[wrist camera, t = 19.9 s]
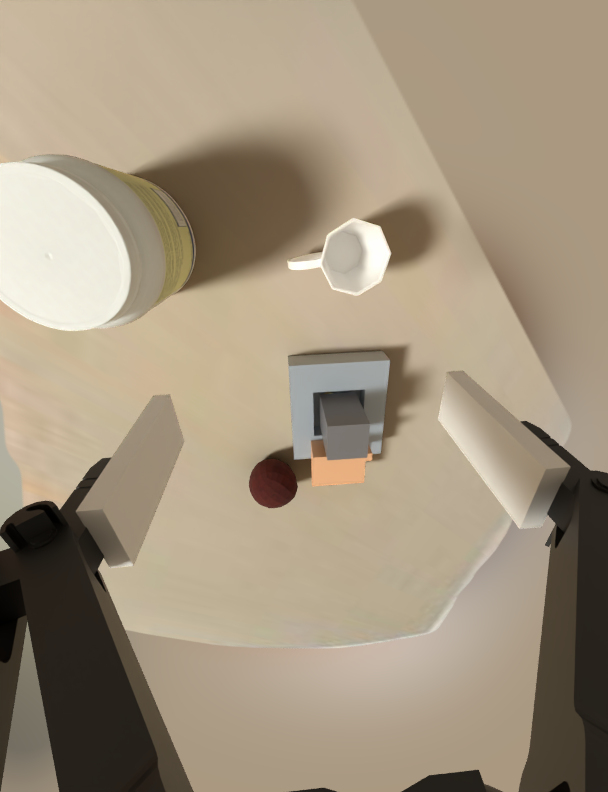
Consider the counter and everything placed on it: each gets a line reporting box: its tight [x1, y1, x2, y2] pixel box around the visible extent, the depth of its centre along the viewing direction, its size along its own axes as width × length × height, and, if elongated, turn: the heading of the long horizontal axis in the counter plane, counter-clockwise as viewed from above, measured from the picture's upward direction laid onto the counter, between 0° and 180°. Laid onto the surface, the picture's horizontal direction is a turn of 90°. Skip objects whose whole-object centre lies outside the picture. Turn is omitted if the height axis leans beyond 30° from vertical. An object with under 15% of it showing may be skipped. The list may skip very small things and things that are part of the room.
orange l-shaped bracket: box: [311, 440, 372, 486], centre depth 47 cm, size 8×8×4 cm
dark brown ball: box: [249, 459, 298, 508], centre depth 50 cm, size 7×8×7 cm
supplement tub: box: [0, 154, 196, 331], centre depth 29 cm, size 12×12×17 cm
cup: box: [287, 218, 391, 296], centre depth 35 cm, size 7×10×8 cm
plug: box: [320, 392, 370, 460], centre depth 43 cm, size 5×5×9 cm
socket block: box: [288, 351, 390, 460], centre depth 46 cm, size 15×13×4 cm
